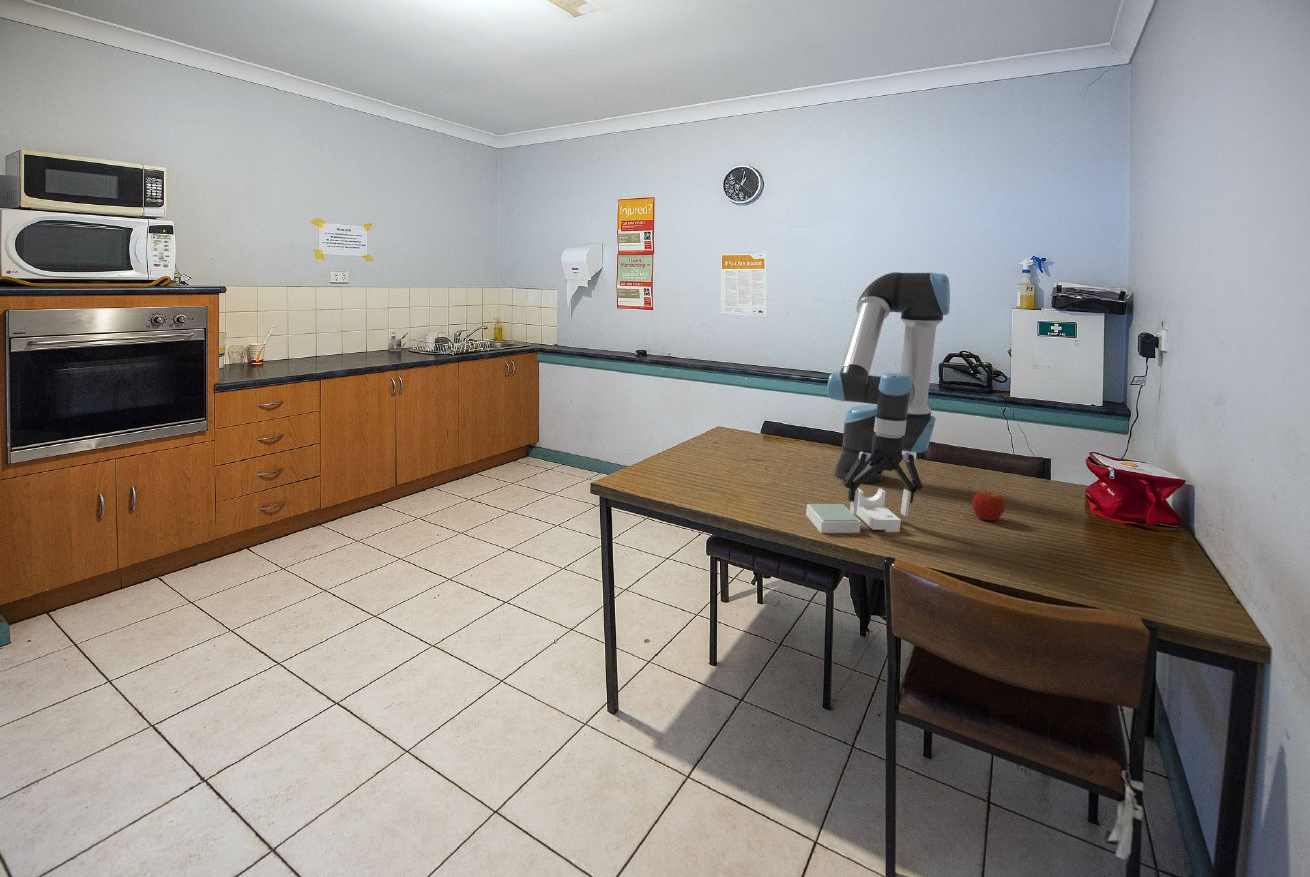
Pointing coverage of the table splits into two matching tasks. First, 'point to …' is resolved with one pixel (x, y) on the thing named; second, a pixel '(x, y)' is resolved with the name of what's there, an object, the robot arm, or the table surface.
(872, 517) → the bracket
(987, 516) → the apple
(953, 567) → the table surface
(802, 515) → the table surface
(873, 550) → the table surface
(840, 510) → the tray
